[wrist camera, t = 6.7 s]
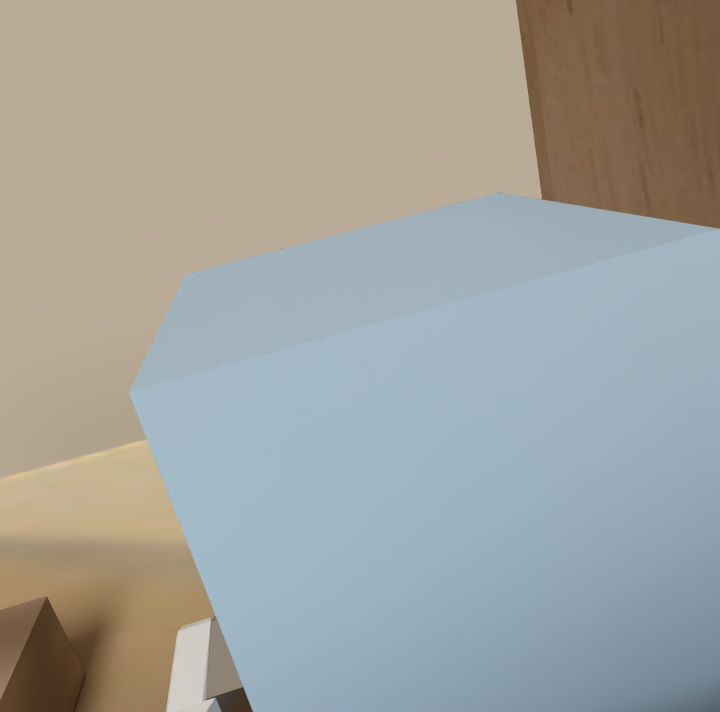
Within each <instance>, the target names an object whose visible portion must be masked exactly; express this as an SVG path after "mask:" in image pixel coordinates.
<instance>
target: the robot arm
mask: <svg viewBox="0 0 720 712" xmlns="http://www.w3.org/2000/svg"><path fill="white" fill-rule="evenodd" d="M166 712H253V710H252V708H251V705H250V703H249V700H248V698H247V695H246V692H245V690H244V687H243V685H242V682H241V680H240V677H239V674H238V672H237V669H236V667H235V664H234V662H233V659H232V656H231V654H230V651H229V649H228V646H227V644H226V641H225V638H224V636H223V633H222V631H221V628H220V626H219V623H218V620H217V618H216V616H214V618H207V619H204V620H201V621H198V622H194V623H191V624H188V625H184V626H182V627H181V628H180V630H179V632H178V633H177V639H176V646H175V653H174V659H173V666H172V673H171V680H170V687H169V694H168V701H167V708H166Z"/></svg>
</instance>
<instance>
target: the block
mask: <svg viewBox="0 0 720 712" xmlns="http://www.w3.org/2000/svg"><path fill="white" fill-rule="evenodd" d="M516 4H517V11H518V19H519V27H520V34H521V42H522V49H523V57H524V65H525V72H526V80H527V87H528V94H529V102H530V110H531V118H532V125H533V133H534V140H535V148H536V155H537V163H538V170H539V177H540V186H541V193H542V200H548V201H554V202H560V203H566V204H572V205H578V206H584V207H590V208H596V209H602V210H609V211H615V212H621V213H627V214H633V215H639V216H645V217H651V218H657V219H663V220H669V221H676V222H682V223H688V224H694V225H700V226H706V227H712V228H718V229H720V0H516Z"/></svg>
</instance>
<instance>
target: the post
mask: <svg viewBox="0 0 720 712" xmlns="http://www.w3.org/2000/svg"><path fill="white" fill-rule="evenodd" d="M129 394H130V397H131V399H132V402H133V404H134V407H135V409H136V412H137V415H138V417H139V420H140V422H141V425H142V428H143V430H144V432H145V435H146V438H147V440H148V443H149V446H150V448H151V451H152V453H153V456H154V458H155V461H156V464H157V466H158V469H159V471H160V474H161V476H162V479H163V482H164V484H165V487H166V489H167V492H168V494H169V497H170V500H171V502H172V505H173V507H174V510H175V512H176V515H177V518H178V520H179V523H180V525H181V528H182V530H183V533H184V536H185V538H186V541H187V543H188V546H189V548H190V551H191V554H192V556H193V559H194V561H195V564H196V566H197V569H198V572H199V574H200V577H201V579H202V582H203V584H204V587H205V590H206V592H207V595H208V597H209V600H210V602H211V605H212V608H213V610H214V613H215V615H216V618H217V620H218V623H219V626H220V628H221V631H222V633H223V636H224V638H225V641H226V644H227V646H228V649H229V651H230V654H231V656H232V659H233V662H234V664H235V667H236V669H237V672H238V674H239V677H240V680H241V682H242V685H243V687H244V690H245V692H246V695H247V698H248V700H249V703H250V705H251V708H252V710H253V712H720V229H718V228H712V227H706V226H700V225H694V224H688V223H682V222H676V221H669V220H663V219H657V218H651V217H645V216H639V215H633V214H627V213H621V212H615V211H609V210H602V209H596V208H590V207H584V206H578V205H572V204H566V203H560V202H554V201H548V200H542V199H535V198H529V197H523V196H517V195H511V194H505V193H499V192H498V193H494V194H490V195H486V196H482V197H478V198H475V199H471V200H467V201H463V202H459V203H456V204H452V205H448V206H444V207H440V208H437V209H433V210H429V211H425V212H422V213H417V214H414V215H410V216H406V217H402V218H398V219H395V220H391V221H387V222H384V223H379V224H376V225H372V226H368V227H364V228H361V229H357V230H353V231H349V232H345V233H341V234H337V235H334V236H330V237H326V238H322V239H319V240H315V241H311V242H307V243H303V244H300V245H296V246H292V247H288V248H284V249H280V250H277V251H273V252H269V253H265V254H261V255H258V256H253V257H250V258H246V259H242V260H238V261H235V262H231V263H227V264H223V265H219V266H215V267H212V268H208V269H204V270H200V271H196V272H192V273H189V274H186V275H185V277H184V279H183V282H182V284H181V286H180V288H179V290H178V292H177V294H176V296H175V298H174V300H173V302H172V304H171V306H170V308H169V310H168V312H167V314H166V317H165V319H164V321H163V323H162V325H161V327H160V329H159V331H158V333H157V335H156V337H155V339H154V341H153V343H152V345H151V347H150V349H149V352H148V354H147V356H146V358H145V360H144V362H143V364H142V366H141V368H140V370H139V372H138V374H137V377H136V378H135V381H134V383H133V385H132V387H131V389H130V391H129Z"/></svg>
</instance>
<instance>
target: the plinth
mask: <svg viewBox="0 0 720 712" xmlns="http://www.w3.org/2000/svg"><path fill="white" fill-rule="evenodd" d="M84 676H85V672H84V670H83V668H82V666H81V664H80V662H79V660H78V658H77V656H76V654H75V652H74V650H73V648H72V646H71V644H70V642H69V640H68V638H67V636H66V634H65V632H64V630H63V628H62V626H61V624H60V622H59V620H58V618H57V616H56V614H55V612H54V610H53V608H52V606H51V604H50V602H49V600H48V598H47V596H46V597H43V598H39V599H36V600H33V601H29V602H26V603H23V604H20V605H16V606H13V607H10V608H6V609H3V610H0V712H74V708H75V705H76V702H77V699H78V695H79V692H80V689H81V686H82V682H83V679H84Z"/></svg>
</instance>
